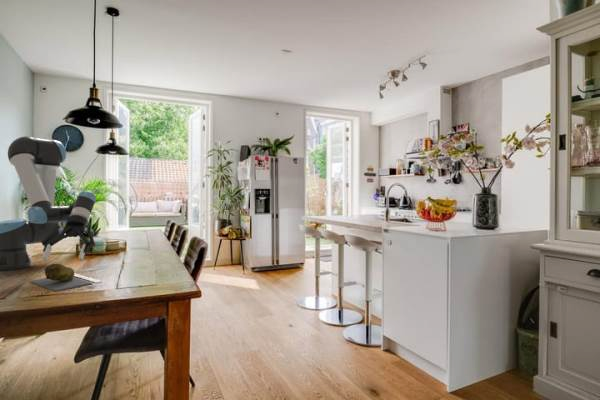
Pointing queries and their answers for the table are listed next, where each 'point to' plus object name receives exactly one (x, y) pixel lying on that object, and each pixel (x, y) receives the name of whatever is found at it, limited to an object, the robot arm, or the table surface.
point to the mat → (60, 283)
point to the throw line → (86, 278)
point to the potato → (59, 272)
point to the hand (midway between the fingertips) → (62, 259)
